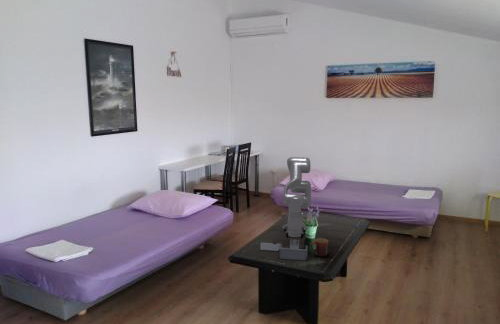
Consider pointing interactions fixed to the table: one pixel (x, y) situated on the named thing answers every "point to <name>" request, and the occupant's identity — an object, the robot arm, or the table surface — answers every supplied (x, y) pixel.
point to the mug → (320, 247)
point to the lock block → (294, 244)
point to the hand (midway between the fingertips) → (294, 238)
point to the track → (268, 250)
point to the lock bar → (270, 246)
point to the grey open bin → (293, 253)
